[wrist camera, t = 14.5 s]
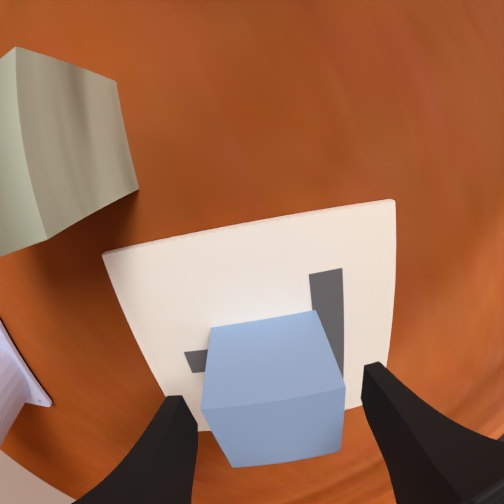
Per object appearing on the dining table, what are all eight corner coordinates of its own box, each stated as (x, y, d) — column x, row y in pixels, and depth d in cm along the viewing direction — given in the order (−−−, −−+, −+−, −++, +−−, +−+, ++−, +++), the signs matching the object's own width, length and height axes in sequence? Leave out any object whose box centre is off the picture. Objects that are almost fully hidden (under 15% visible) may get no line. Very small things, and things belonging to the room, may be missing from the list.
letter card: (187, 426, 15) (186, 431, 15) (105, 251, 11) (101, 255, 11) (378, 395, 15) (380, 400, 15) (390, 199, 11) (395, 200, 10)
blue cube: (233, 394, 14) (232, 467, 10) (211, 327, 12) (200, 409, 8) (320, 380, 14) (340, 451, 9) (315, 309, 12) (345, 386, 8)
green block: (54, 217, 11) (-40, 273, 5) (33, 123, 9) (-70, 133, 3) (139, 188, 10) (47, 239, 5) (116, 81, 9) (15, 46, 3)
